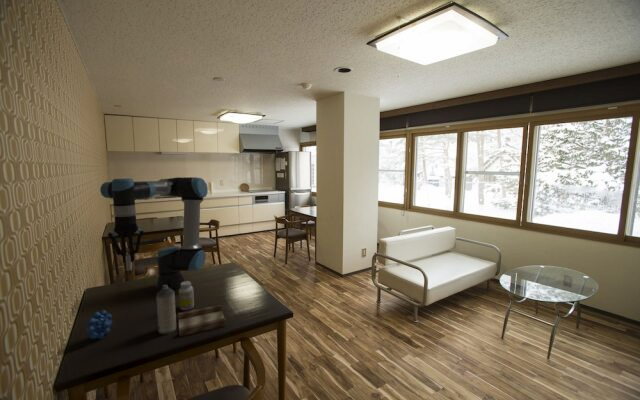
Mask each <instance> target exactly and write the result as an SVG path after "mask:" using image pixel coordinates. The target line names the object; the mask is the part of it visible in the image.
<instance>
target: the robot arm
mask: <svg viewBox="0 0 640 400" xmlns="http://www.w3.org/2000/svg"><path fill="white" fill-rule="evenodd" d="M99 189H100V190H99V191H100V194H101V196H103V198H105V199H106V198H107V199H111V200H112V202H113V215H114V228H113V230H112V231H110V232H108V233H107V236H108V238H110V240H111V242H112V245H113V247H114V250H115V252H116V255H117V256H121V257H122V263H123V264H125V266H126V271H127V272H128V271H132V269H133V263H134V262H135V254H138V253H139V251H140V250H139V249H140V246H141V241H142V236H143V234H144V232H145V230H144V229H140V228H139V226H138V224H137V215H136V212H137V210H136V200H143V199H149V198H152V197H154V196H161V197H175V198H181V202H182V203H183V226H182V227H183V231H182V232H183V233H182V244H181V246H178V245H174V246H173V245H171V246H167V247H164V248H160V249H158V251H157V257H156V259H157V273H158V275H157V280H156V283H155V290H156V291H158V292H159V291H160V290H161V289H162V288H163V285H167V286H168V288H170V289H171V290H174V291H175V290H177V289H180V288H181V283H182V282H185V279H184V276H183V274H182V271H190V272H195V271H200V270H201V269H203V268H202V267H203V266H204V264H205V262H206V259H207V255H206V252H205V251H204V250H202V248H203V246H202V245H200V227H201V226H200V221H201V203H203V201H204V198H205V197H207V195H208V192H209V191H208V185H207V183H206V181H205V180H204V178H201V177H194V176H193V177H191V176H190V177H187V176H185V177H178V176H177V177H172V178H161V179H159V180H147V181H143V180H142V181H141V180H140V181H139V180H138V181H134V178H114V179H112V181H105V182H104V183H102V184H101V185H100V188H99ZM136 232H137V239H136V243H135V247H134V239H133V238H134V235H135V234H136ZM116 235H117V236H118V237H120V243H121V248H120V244H119V242H118V240H117V237H116ZM126 238H128V246H129V247H128V248H129V253H128V252H127V241H126ZM134 248H135V249H134Z"/></svg>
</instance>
